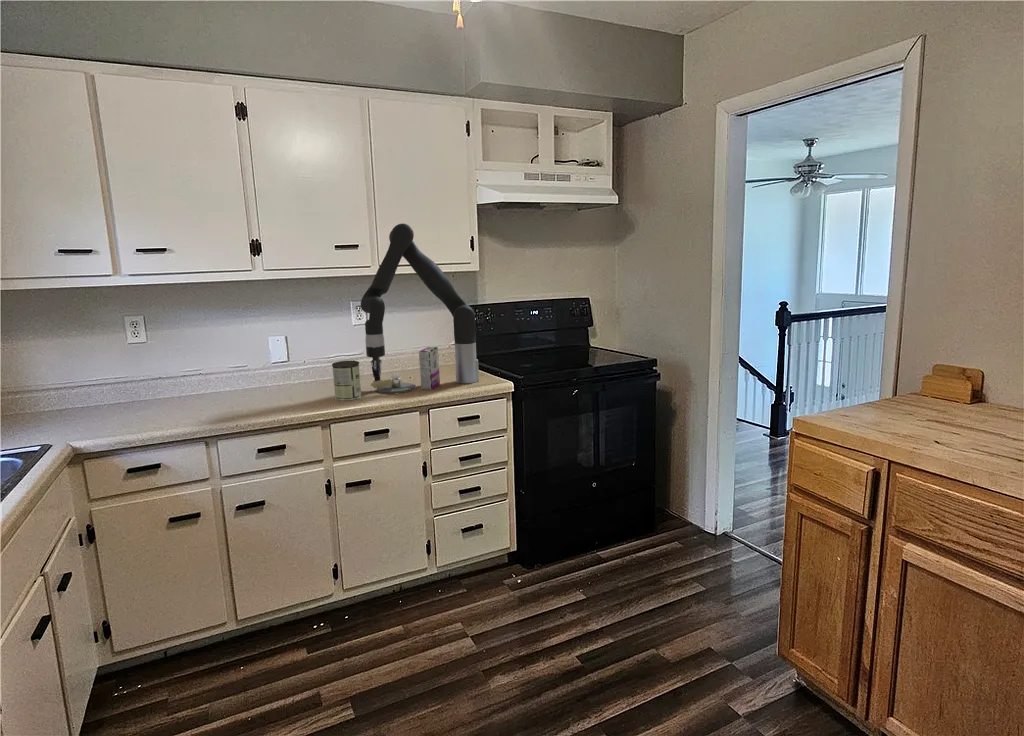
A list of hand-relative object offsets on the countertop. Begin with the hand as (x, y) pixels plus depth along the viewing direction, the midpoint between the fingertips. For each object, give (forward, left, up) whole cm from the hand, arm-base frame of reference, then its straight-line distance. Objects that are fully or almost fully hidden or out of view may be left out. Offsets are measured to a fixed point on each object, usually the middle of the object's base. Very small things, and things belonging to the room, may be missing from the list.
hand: (377, 385), depth 246 cm
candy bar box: (-21, +6, -2) cm, 22 cm away
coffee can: (+14, +6, -2) cm, 15 cm away
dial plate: (-7, +3, -2) cm, 8 cm away
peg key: (-3, +3, -1) cm, 4 cm away
